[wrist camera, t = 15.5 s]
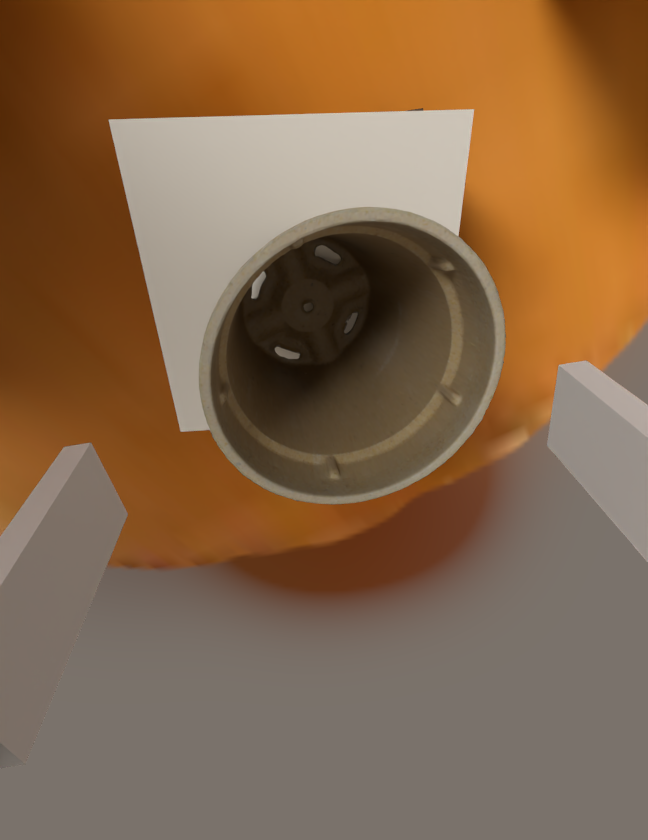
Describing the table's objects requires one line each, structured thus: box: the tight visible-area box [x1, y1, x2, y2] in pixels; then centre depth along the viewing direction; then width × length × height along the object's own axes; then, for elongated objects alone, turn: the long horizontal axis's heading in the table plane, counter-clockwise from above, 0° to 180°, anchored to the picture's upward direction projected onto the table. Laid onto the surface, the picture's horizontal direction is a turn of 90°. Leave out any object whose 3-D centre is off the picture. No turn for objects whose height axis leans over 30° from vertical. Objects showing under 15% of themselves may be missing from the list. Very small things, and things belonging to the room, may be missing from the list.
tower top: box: [109, 109, 474, 432], centre depth 23 cm, size 14×14×5 cm
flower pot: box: [199, 207, 506, 504], centre depth 17 cm, size 9×9×9 cm
